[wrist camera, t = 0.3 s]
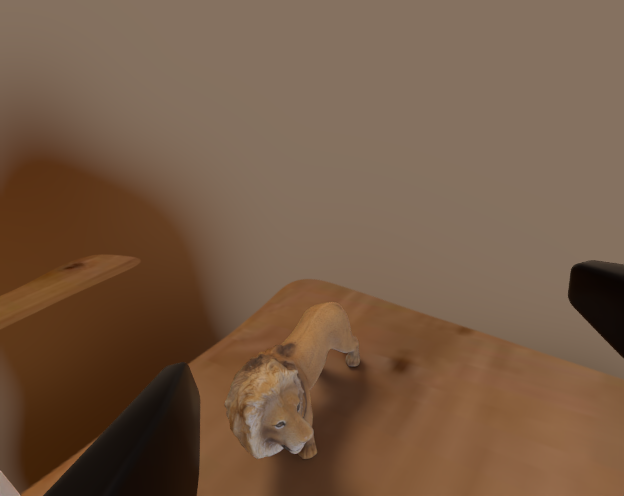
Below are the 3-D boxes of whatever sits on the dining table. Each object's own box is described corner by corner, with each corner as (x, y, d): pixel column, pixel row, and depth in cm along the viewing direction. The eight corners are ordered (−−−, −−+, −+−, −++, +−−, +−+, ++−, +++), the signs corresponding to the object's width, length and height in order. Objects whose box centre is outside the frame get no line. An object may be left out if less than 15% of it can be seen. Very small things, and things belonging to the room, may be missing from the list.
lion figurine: (314, 537, 19) (299, 423, 14) (224, 506, 20) (187, 395, 16) (367, 342, 31) (366, 250, 27) (308, 333, 32) (299, 244, 28)
